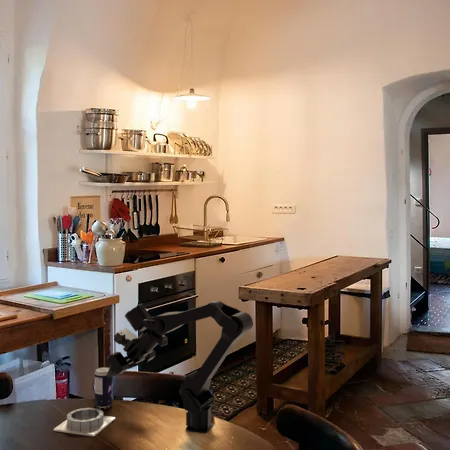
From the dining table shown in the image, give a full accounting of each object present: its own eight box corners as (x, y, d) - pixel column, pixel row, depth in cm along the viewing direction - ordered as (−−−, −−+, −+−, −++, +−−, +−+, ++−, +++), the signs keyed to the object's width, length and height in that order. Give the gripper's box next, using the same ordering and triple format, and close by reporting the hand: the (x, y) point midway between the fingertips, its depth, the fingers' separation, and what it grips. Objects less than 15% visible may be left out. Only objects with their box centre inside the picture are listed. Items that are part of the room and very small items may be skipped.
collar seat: (115, 419, 177) (115, 409, 177) (94, 436, 165) (93, 425, 165) (77, 414, 181) (77, 404, 181) (53, 430, 169) (53, 420, 168)
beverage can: (110, 409, 185) (110, 372, 184) (92, 409, 185) (92, 372, 184) (114, 403, 191) (114, 366, 190) (97, 402, 191) (96, 366, 190)
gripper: (148, 316, 189) (120, 345, 195) (111, 328, 173) (83, 359, 179) (168, 343, 186) (140, 372, 192) (133, 358, 170) (103, 389, 176)
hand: (117, 372), depth 185 cm, fingers open, 9 cm apart
